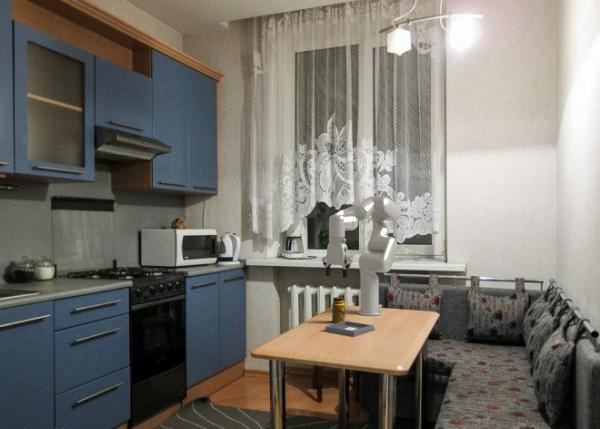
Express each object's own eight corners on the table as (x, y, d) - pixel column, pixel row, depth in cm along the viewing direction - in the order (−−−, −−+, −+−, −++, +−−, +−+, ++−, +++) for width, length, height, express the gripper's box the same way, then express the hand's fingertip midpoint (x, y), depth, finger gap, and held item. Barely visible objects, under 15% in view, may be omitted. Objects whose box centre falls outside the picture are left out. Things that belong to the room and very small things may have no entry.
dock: (345, 324, 232) (345, 320, 232) (375, 329, 221) (375, 325, 221) (323, 331, 218) (323, 326, 218) (354, 336, 208) (354, 331, 208)
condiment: (347, 324, 233) (347, 298, 234) (329, 324, 232) (329, 299, 232) (343, 321, 241) (343, 296, 241) (326, 321, 240) (326, 296, 240)
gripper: (356, 241, 234) (356, 277, 234) (326, 240, 245) (326, 274, 245) (347, 241, 228) (347, 279, 228) (317, 240, 239) (317, 276, 239)
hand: (336, 276), depth 237 cm, fingers open, 9 cm apart
